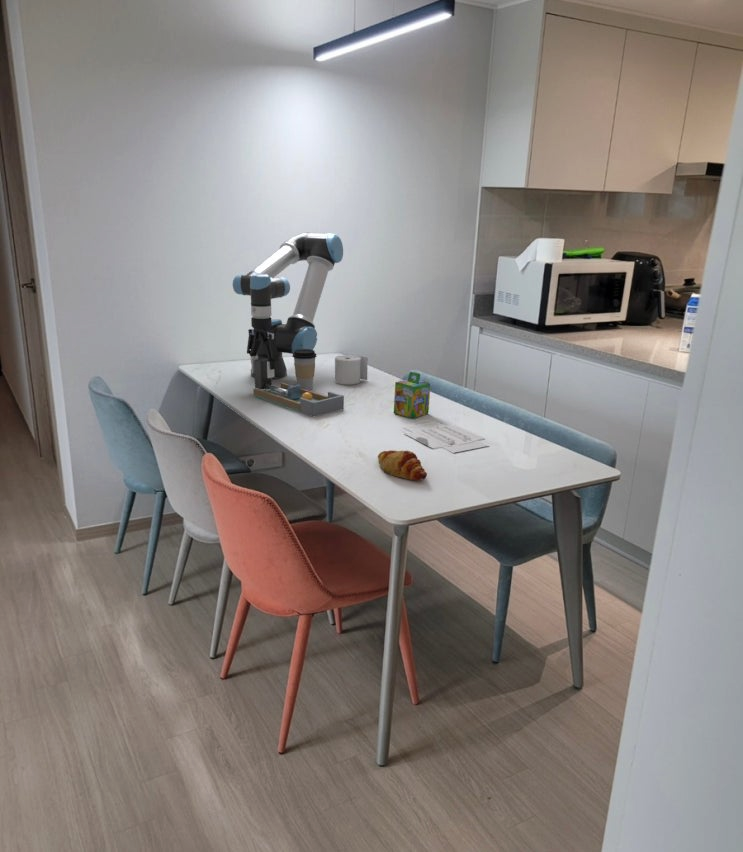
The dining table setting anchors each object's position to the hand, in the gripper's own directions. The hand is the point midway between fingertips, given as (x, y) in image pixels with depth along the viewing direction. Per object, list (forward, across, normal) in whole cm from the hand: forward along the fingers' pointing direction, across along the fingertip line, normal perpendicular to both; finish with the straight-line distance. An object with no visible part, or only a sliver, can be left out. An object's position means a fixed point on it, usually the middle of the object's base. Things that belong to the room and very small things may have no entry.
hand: (262, 374), depth 273 cm
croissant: (+7, +93, -22) cm, 96 cm away
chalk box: (+7, +58, +21) cm, 62 cm away
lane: (+7, +17, 0) cm, 18 cm away
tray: (+7, +82, +10) cm, 83 cm away
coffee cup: (+7, +7, +15) cm, 18 cm away
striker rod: (+5, +9, 0) cm, 10 cm away
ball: (+4, +26, 0) cm, 26 cm away
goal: (+7, +34, 0) cm, 35 cm away
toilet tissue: (+7, +10, +36) cm, 38 cm away
